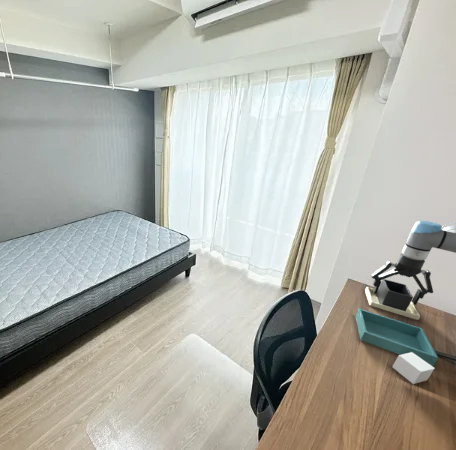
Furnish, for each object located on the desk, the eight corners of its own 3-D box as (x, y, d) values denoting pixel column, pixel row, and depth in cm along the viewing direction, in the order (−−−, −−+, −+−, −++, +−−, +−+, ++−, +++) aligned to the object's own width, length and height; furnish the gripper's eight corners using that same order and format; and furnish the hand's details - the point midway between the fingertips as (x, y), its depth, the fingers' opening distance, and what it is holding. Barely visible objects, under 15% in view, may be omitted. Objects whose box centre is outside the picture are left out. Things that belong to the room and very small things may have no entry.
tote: (417, 337, 95) (422, 328, 93) (432, 367, 82) (438, 357, 81) (354, 316, 104) (358, 308, 102) (359, 341, 92) (364, 331, 90)
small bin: (397, 300, 115) (405, 284, 112) (404, 314, 106) (413, 297, 103) (376, 294, 119) (383, 278, 116) (380, 306, 110) (388, 290, 107)
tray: (408, 302, 114) (410, 298, 114) (417, 321, 103) (420, 316, 102) (364, 290, 122) (366, 286, 121) (369, 306, 111) (371, 301, 110)
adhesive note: (426, 381, 78) (434, 368, 75) (412, 385, 76) (421, 372, 74) (404, 364, 83) (412, 352, 81) (391, 368, 82) (398, 355, 79)
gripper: (377, 251, 106) (360, 292, 114) (459, 269, 94) (435, 313, 102) (373, 245, 112) (358, 284, 120) (451, 261, 100) (428, 303, 108)
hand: (393, 297), depth 111 cm, fingers open, 13 cm apart
